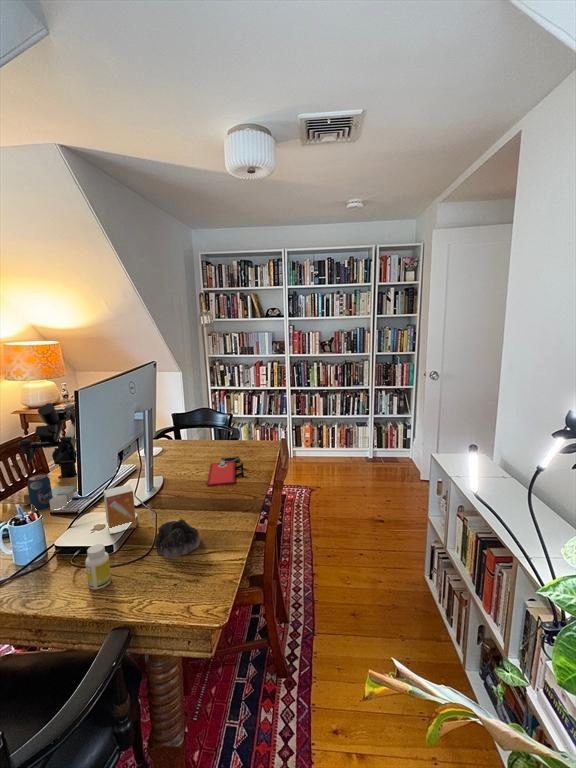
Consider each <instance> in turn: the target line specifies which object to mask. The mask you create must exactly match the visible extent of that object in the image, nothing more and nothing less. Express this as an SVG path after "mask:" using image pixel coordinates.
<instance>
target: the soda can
mask: <svg viewBox="0 0 576 768" xmlns="http://www.w3.org/2000/svg"><path fill="white" fill-rule="evenodd" d="M26 485H27V492H29V499H30V505H31V504H33V505H34V506H35V508H36V509H37V510H39V511H38V512H41V511H42V512H43V511H45V510H47V509H50V502H49V500H51V499H52V491H51V490H52V485H51V478H50V477H49V476H48V473H38V474H34V475H32V476H30V477H29V478H28V481H27V482H26Z"/></svg>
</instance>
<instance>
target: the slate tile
mask: <svg viewBox="0 0 576 768" xmlns="http://www.w3.org/2000/svg"><path fill="white" fill-rule="evenodd" d="M77 486H78V485H70V486H67V485H66V486H54V487H53V488H51V491H52V498H53V497H54V496H56V495H57V494H58V493H59V492H60V491H61V490H64V489H73V493H75V491H77V490H78V488H77Z"/></svg>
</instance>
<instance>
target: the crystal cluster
mask: <svg viewBox="0 0 576 768" xmlns="http://www.w3.org/2000/svg"><path fill="white" fill-rule="evenodd" d="M154 538H155V539H154V542H153V543H154V547H155V548H156V549H157V552H158V554H159V555H161V556H163V557H165V558H166V559H169V558H178V557H180V556H183V555H187V554H189V553H191V552H192V551H194V550H196V549H197V548H199V545H200V543H201V540H200V534H199V531H198V530H197V528H196V527H192V526H190V524H188V523H187V522H186V520H185V519H182V518H180V519H179V520H177V521H176V520H171V521H168V522H165V523H162V524H161V525H160V526H159V527H158V533H157V534H156V535H155V537H154Z"/></svg>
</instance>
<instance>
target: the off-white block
mask: <svg viewBox="0 0 576 768" xmlns="http://www.w3.org/2000/svg"><path fill="white" fill-rule="evenodd" d="M49 502H50V507H49V509H50V511H51V510H54V509H58V508H62V507H63V506H65V505H66V504H67V496H66V495H56V496H54V497H53V498H52V499H51V500H49ZM54 511H55V510H54Z"/></svg>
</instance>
